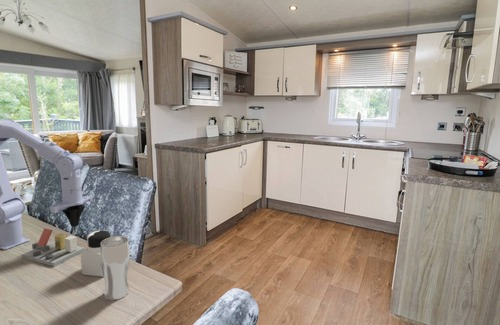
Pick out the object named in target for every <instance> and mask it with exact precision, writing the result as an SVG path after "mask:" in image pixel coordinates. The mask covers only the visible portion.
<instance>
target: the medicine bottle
mask: <svg viewBox="0 0 500 325" xmlns="http://www.w3.org/2000/svg"><path fill="white" fill-rule="evenodd" d="M109 237H111V233H110V232H109V231H107V230H95V231H93V232H91V233H89V234H88V235H87V236H86V239H87V240H86V241H87V248H85V250H84V251H83V252H81V253H80V264H81V274H82V275H83V276H91V277H92V276H93V277H99V278H100V277H102V278H104V275H103V271H102V267H101V260H100V249H101V242H102V241H103V240H104V239H106V238H109Z"/></svg>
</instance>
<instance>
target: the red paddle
mask: <svg viewBox="0 0 500 325" xmlns="http://www.w3.org/2000/svg"><path fill="white" fill-rule="evenodd" d="M53 231H54V230H53V229H49V228H43V231H42V232H41V235H40V237H39V240H38V242H37V243H38V244H37V245H36V246H35V248H38V249H42V250H43V247H44V246H46V245H47V244H48V243H49V240H50V237H51V235H52V232H53Z"/></svg>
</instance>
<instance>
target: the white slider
mask: <svg viewBox="0 0 500 325" xmlns="http://www.w3.org/2000/svg"><path fill="white" fill-rule="evenodd" d="M77 246H78V239H77V236H74V235H69V236H67V238H65V251H68V252H72V251H74V250H76V249H77Z"/></svg>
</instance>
